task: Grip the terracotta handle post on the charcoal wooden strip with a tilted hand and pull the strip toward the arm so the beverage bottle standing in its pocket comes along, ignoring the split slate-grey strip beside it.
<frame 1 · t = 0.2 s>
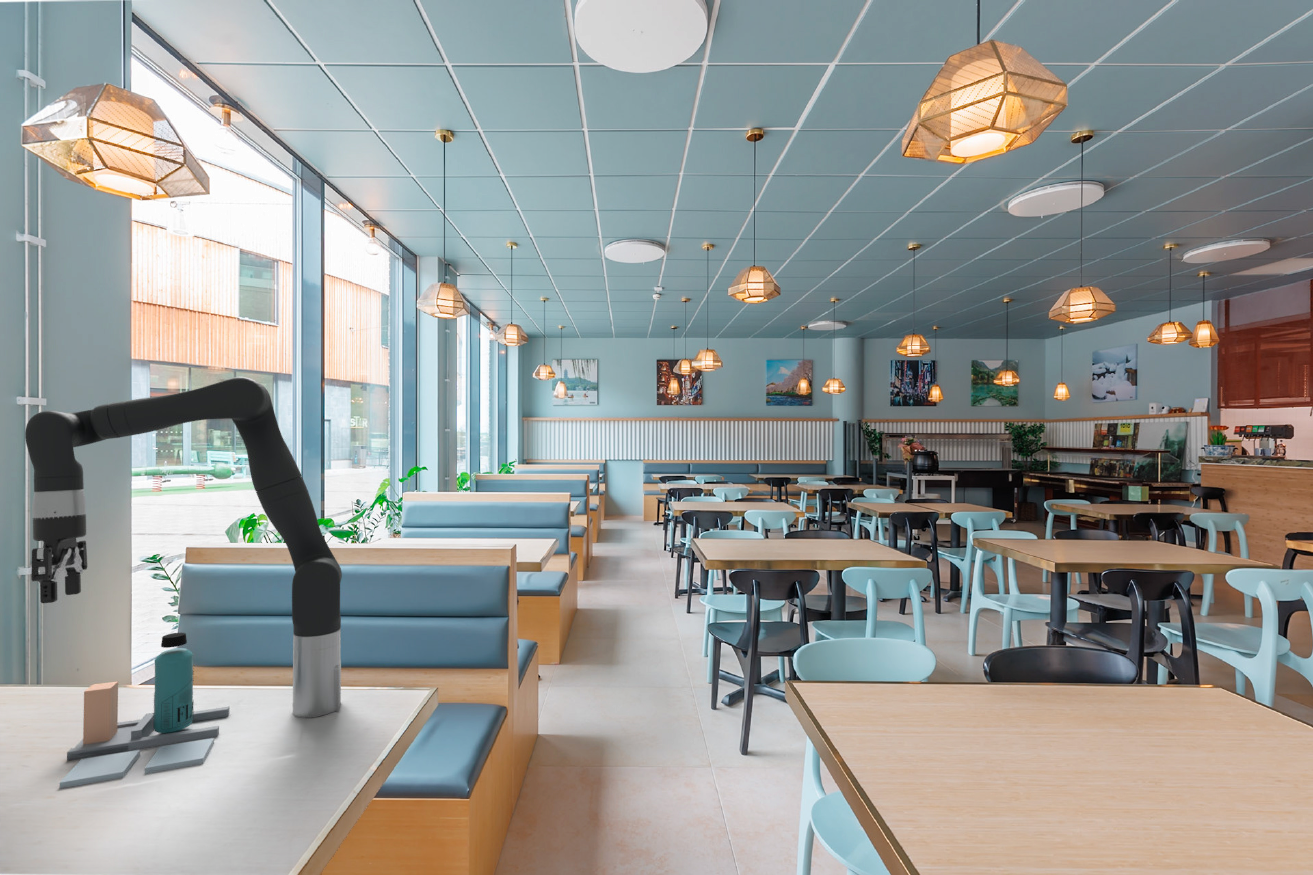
hand: (61, 598, 122), 29 cm above the table, tool pointing down, fingers open, 8 cm apart
split strip: (142, 765, 114), on the table
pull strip: (155, 707, 126), point 6 cm above the table, slide at 0.0 cm
beverage bottle: (173, 734, 127), resting in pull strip
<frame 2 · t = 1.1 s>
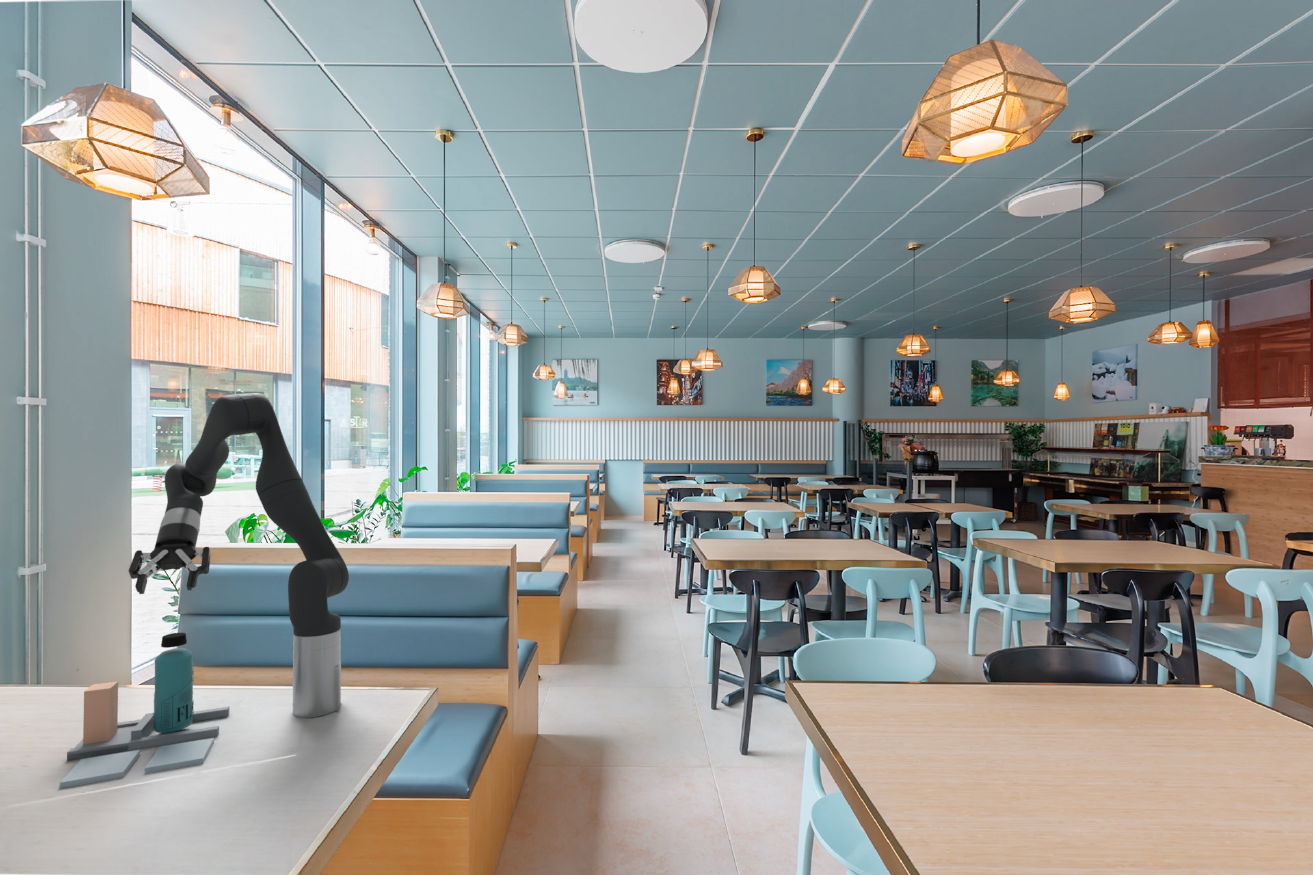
hand: (165, 590, 138), 27 cm above the table, tool tilted 45°, fingers open, 8 cm apart
nothing on the table moved.
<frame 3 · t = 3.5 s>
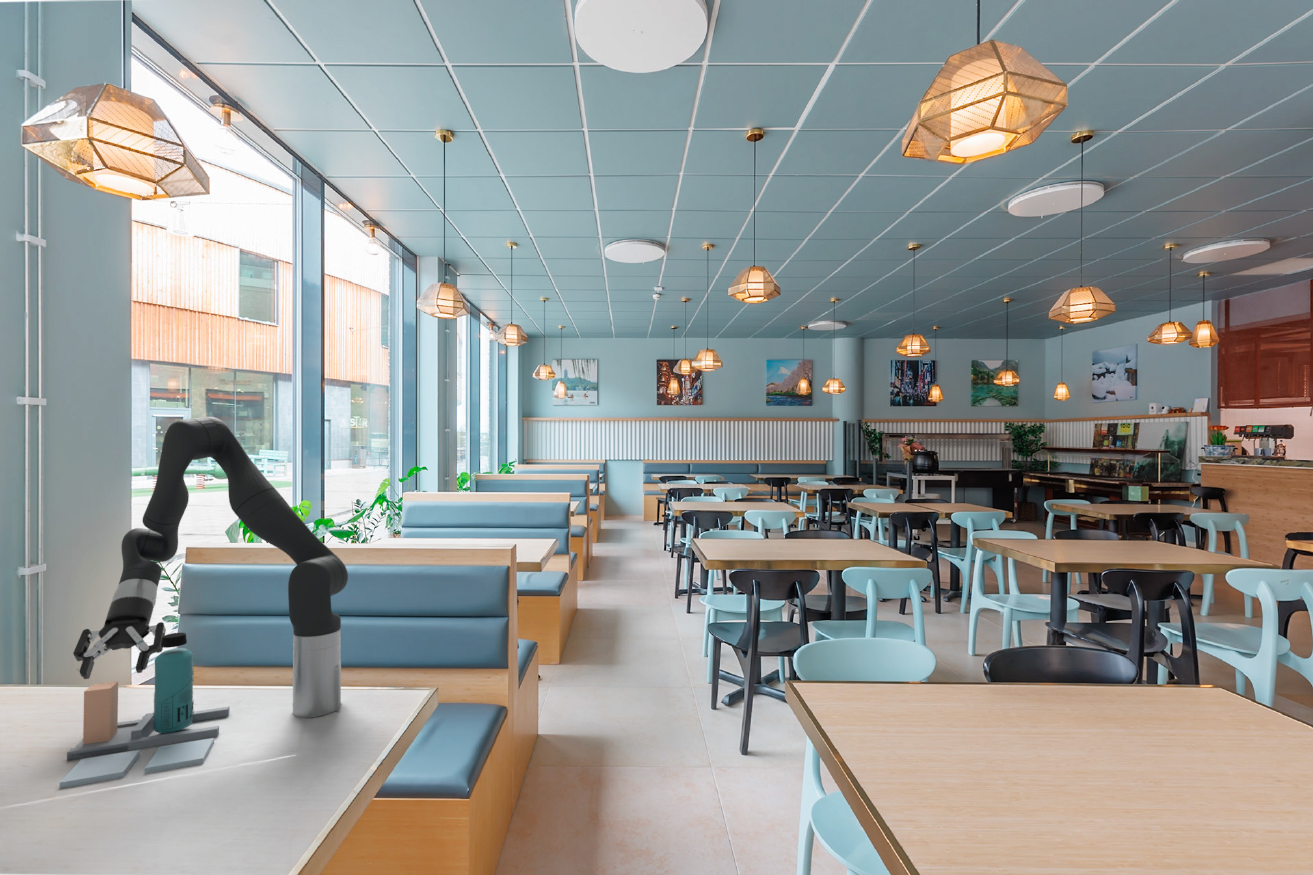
hand: (112, 673, 128), 12 cm above the table, tool tilted 45°, fingers open, 8 cm apart
nothing on the table moved.
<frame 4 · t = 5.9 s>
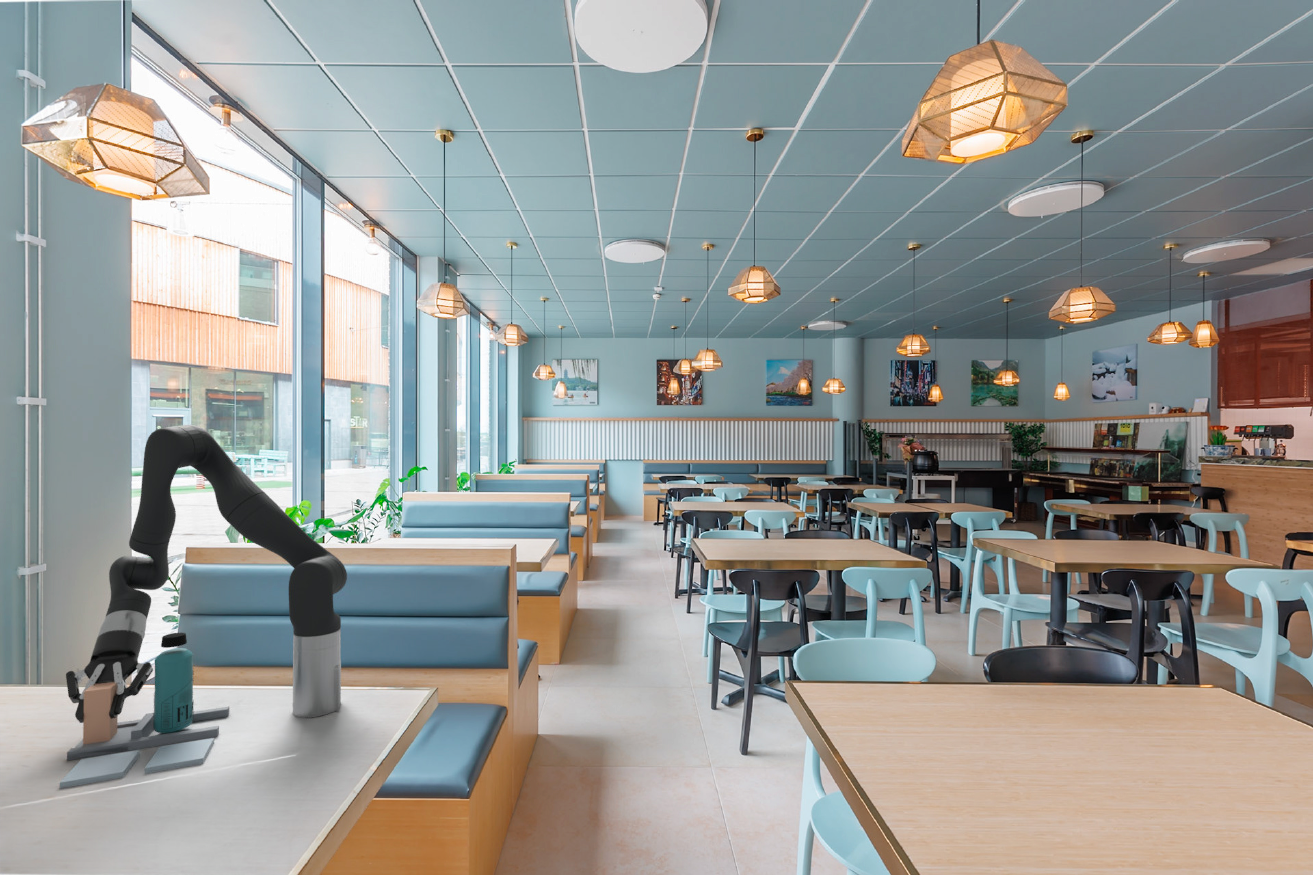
hand: (97, 718, 121), 6 cm above the table, tool tilted 45°, fingers closed on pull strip, 4 cm apart
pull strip: (155, 707, 126), point 6 cm above the table, slide at 0.0 cm, touching gripper
everything else where it was.
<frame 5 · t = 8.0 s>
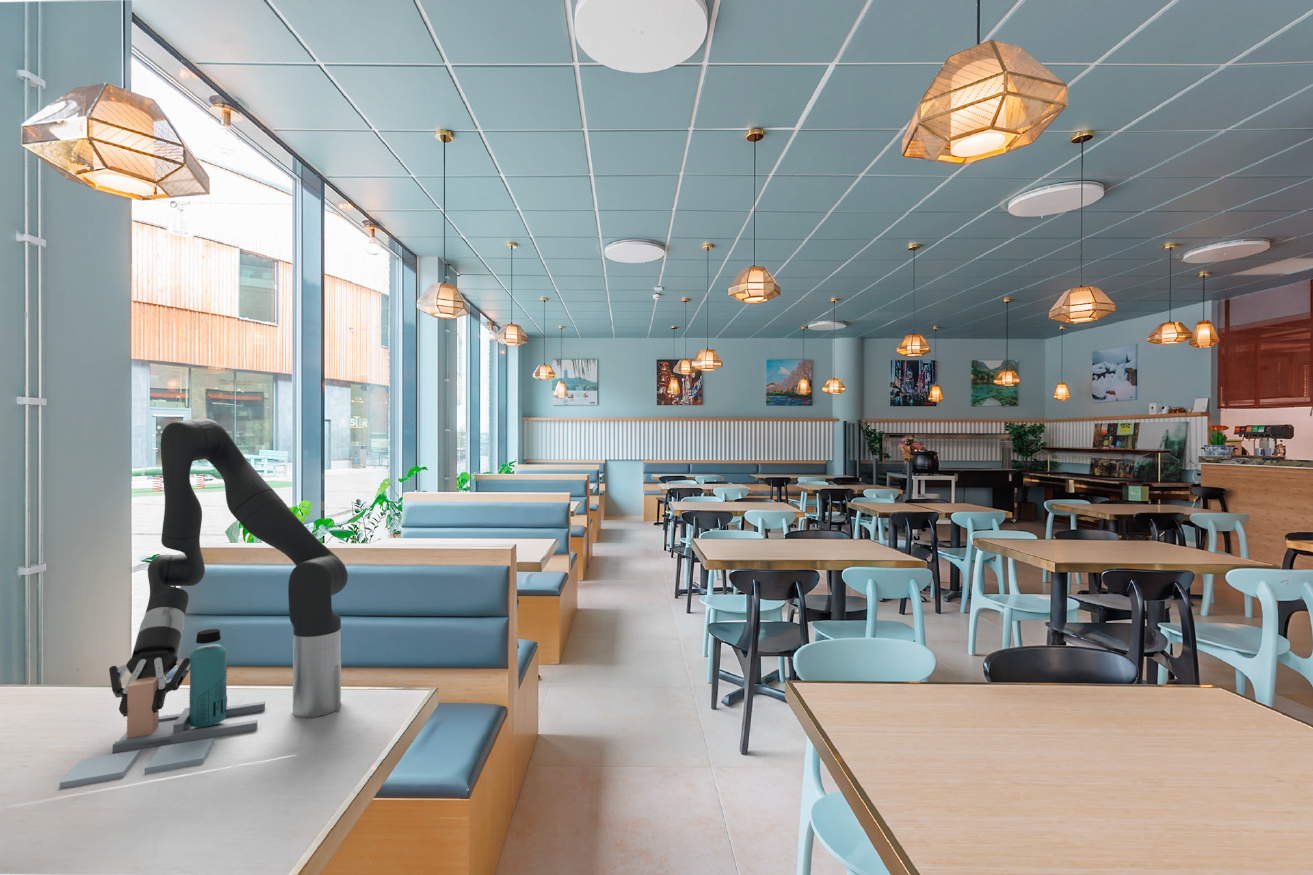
hand: (140, 712, 123), 6 cm above the table, tool tilted 45°, fingers closed on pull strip, 4 cm apart
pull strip: (195, 701, 129), point 6 cm above the table, slide at 6.6 cm, touching beverage bottle, gripper
beverage bottle: (207, 728, 130), resting in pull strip
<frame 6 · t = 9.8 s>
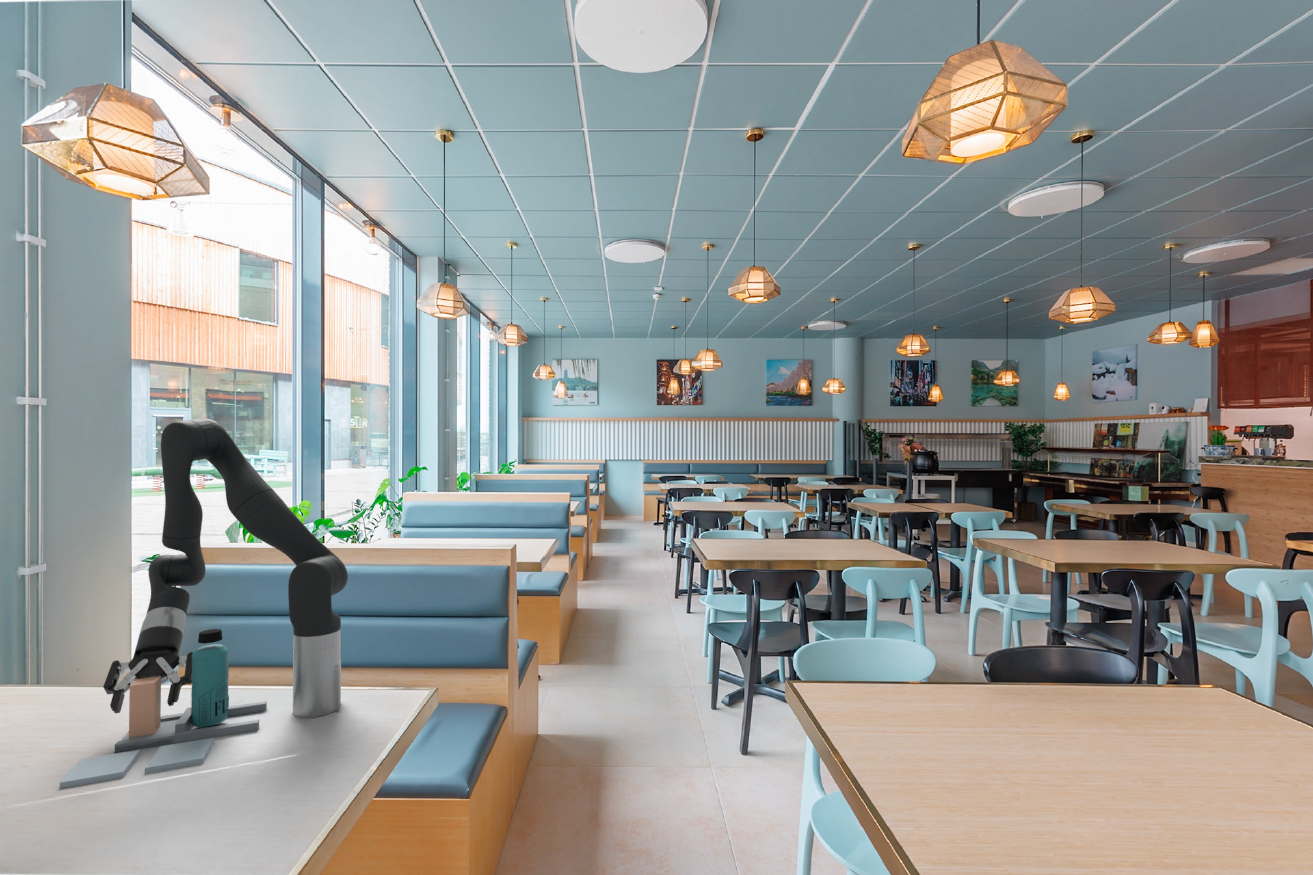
hand: (143, 707, 124), 6 cm above the table, tool tilted 45°, fingers open, 8 cm apart
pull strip: (197, 701, 129), point 6 cm above the table, slide at 6.9 cm
beverage bottle: (209, 728, 130), resting in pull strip
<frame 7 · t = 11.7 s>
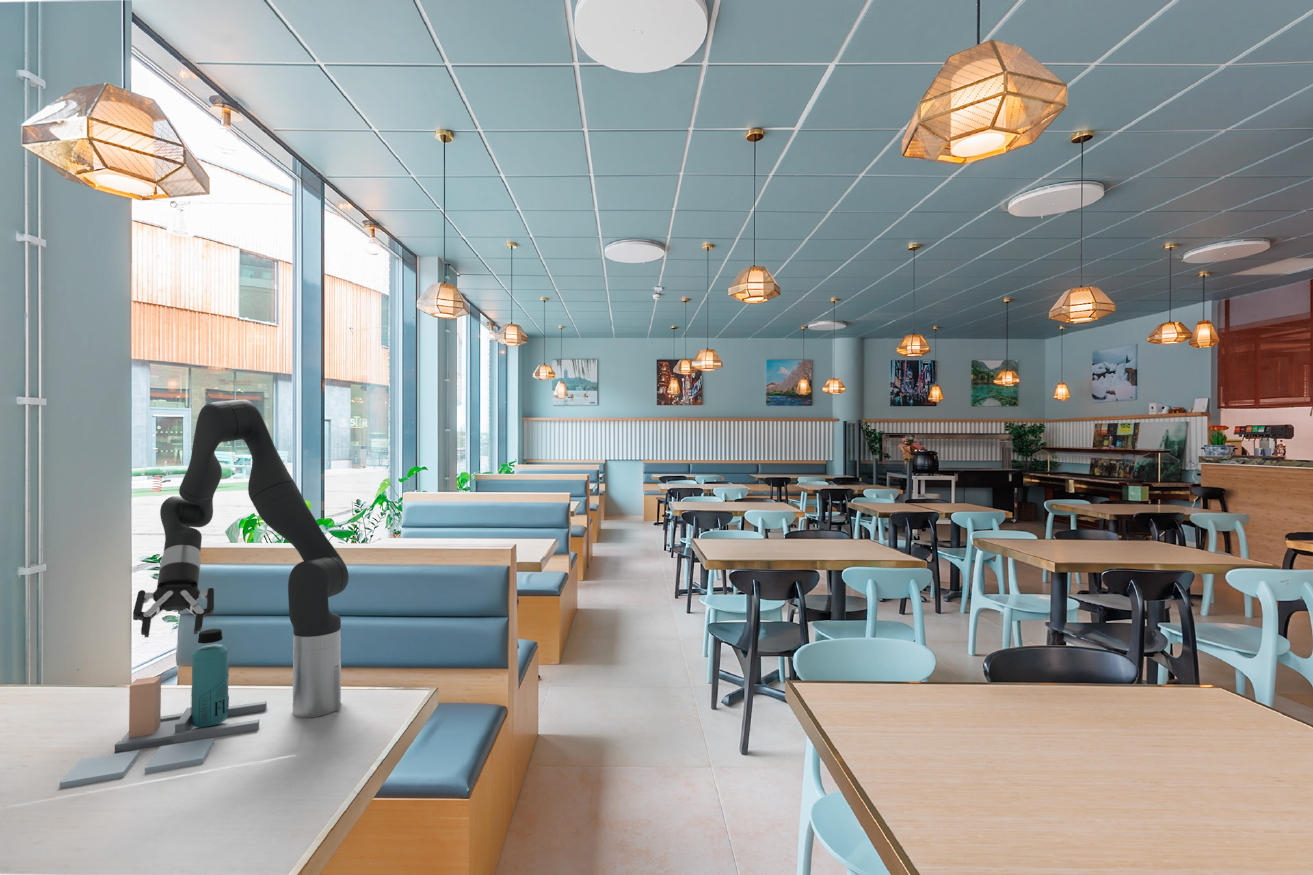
hand: (171, 634, 137), 17 cm above the table, tool tilted 40°, fingers open, 8 cm apart
nothing on the table moved.
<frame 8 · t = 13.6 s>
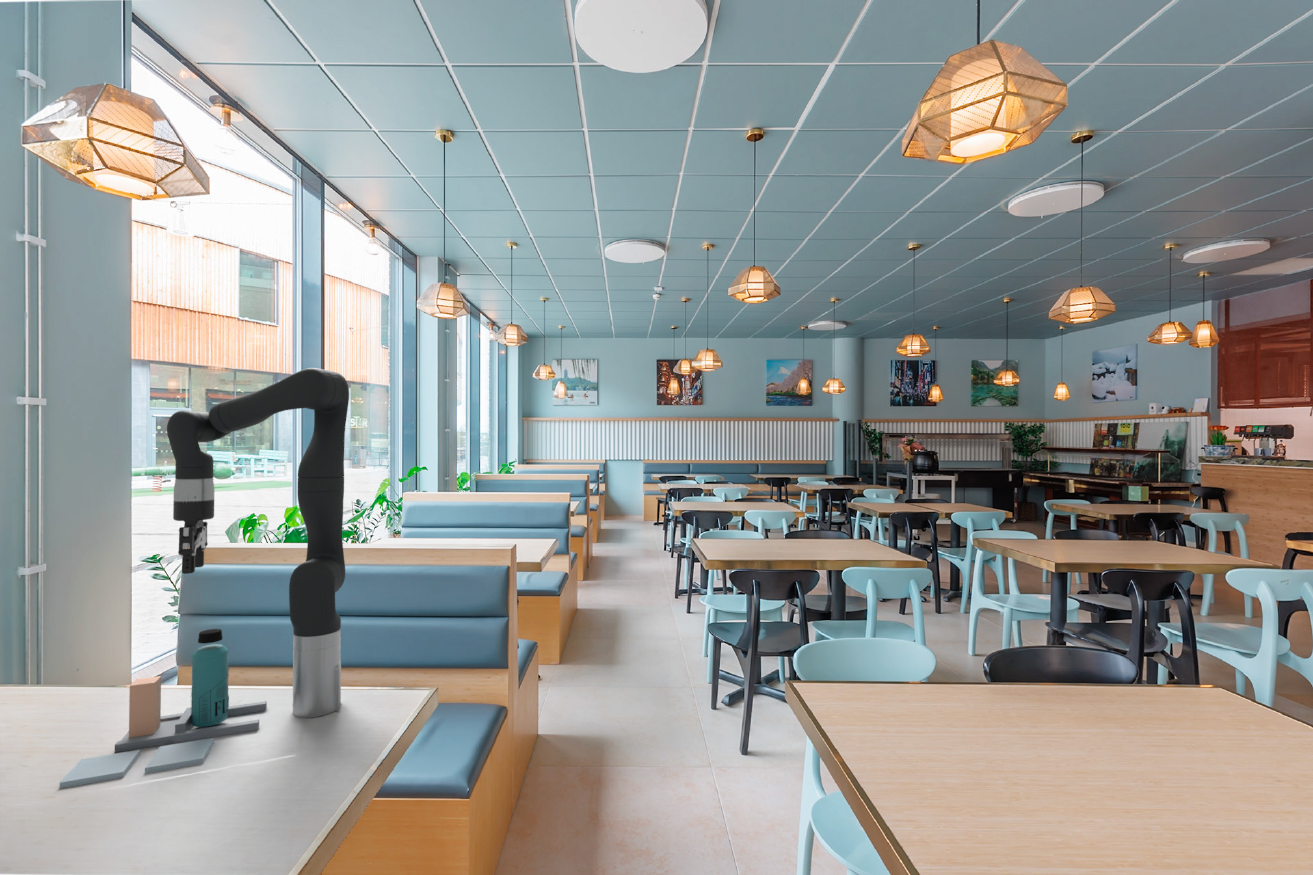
hand: (193, 570, 143), 30 cm above the table, tool pointing down, fingers open, 8 cm apart
nothing on the table moved.
at the end: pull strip slide at 6.9 cm; beverage bottle moved 6.1 cm from its start; beverage bottle tilted 0° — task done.
